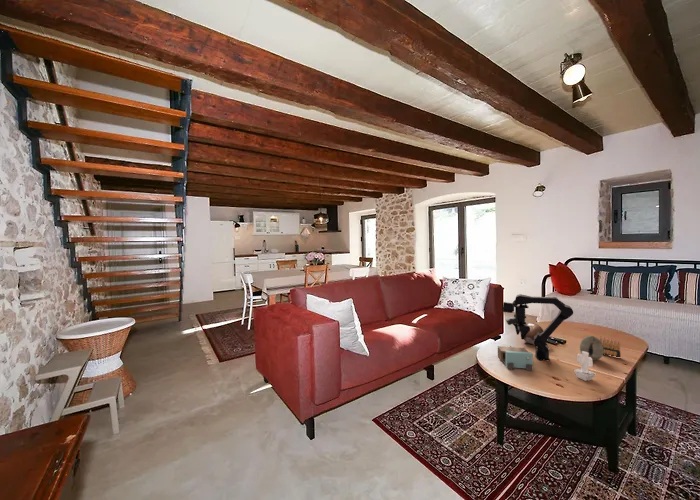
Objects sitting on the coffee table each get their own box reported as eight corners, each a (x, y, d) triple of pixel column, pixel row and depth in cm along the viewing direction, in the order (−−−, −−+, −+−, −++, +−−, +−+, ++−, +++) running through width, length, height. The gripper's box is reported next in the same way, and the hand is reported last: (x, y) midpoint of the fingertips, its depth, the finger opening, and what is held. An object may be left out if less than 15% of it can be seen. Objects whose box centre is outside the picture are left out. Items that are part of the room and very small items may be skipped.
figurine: (597, 380, 159) (598, 353, 159) (584, 382, 157) (585, 355, 156) (584, 374, 166) (584, 348, 166) (571, 376, 164) (572, 350, 163)
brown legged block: (524, 358, 188) (524, 347, 188) (535, 371, 171) (535, 359, 171) (497, 356, 192) (497, 346, 192) (505, 368, 175) (505, 357, 174)
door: (507, 367, 175) (507, 352, 175) (505, 365, 179) (505, 350, 178) (533, 369, 172) (533, 354, 171) (531, 366, 175) (531, 352, 175)
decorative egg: (581, 354, 193) (581, 331, 192) (604, 359, 185) (605, 336, 184) (578, 359, 185) (578, 336, 184) (602, 365, 177) (603, 341, 176)
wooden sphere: (519, 344, 211) (519, 324, 210) (520, 338, 224) (521, 319, 223) (544, 348, 203) (544, 327, 202) (544, 341, 215) (544, 321, 215)
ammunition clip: (620, 358, 186) (621, 339, 185) (620, 358, 185) (620, 340, 184) (598, 353, 194) (599, 335, 193) (598, 353, 193) (598, 336, 192)
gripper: (503, 309, 204) (502, 331, 205) (511, 317, 186) (510, 341, 187) (520, 310, 201) (520, 332, 202) (530, 318, 183) (530, 342, 184)
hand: (519, 336), depth 194 cm, fingers open, 9 cm apart
